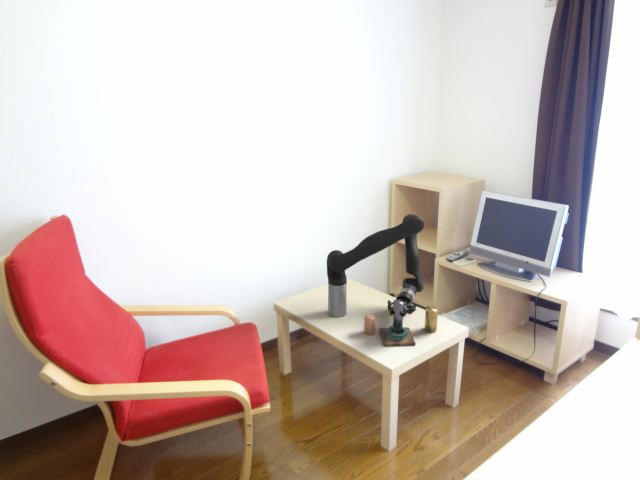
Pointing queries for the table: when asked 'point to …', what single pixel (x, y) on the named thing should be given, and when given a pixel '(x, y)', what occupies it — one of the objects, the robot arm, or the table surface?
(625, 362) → the table surface
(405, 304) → the robot arm
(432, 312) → the brass peg
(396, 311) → the steel peg
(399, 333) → the ring board
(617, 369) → the table surface
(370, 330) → the terracotta peg
